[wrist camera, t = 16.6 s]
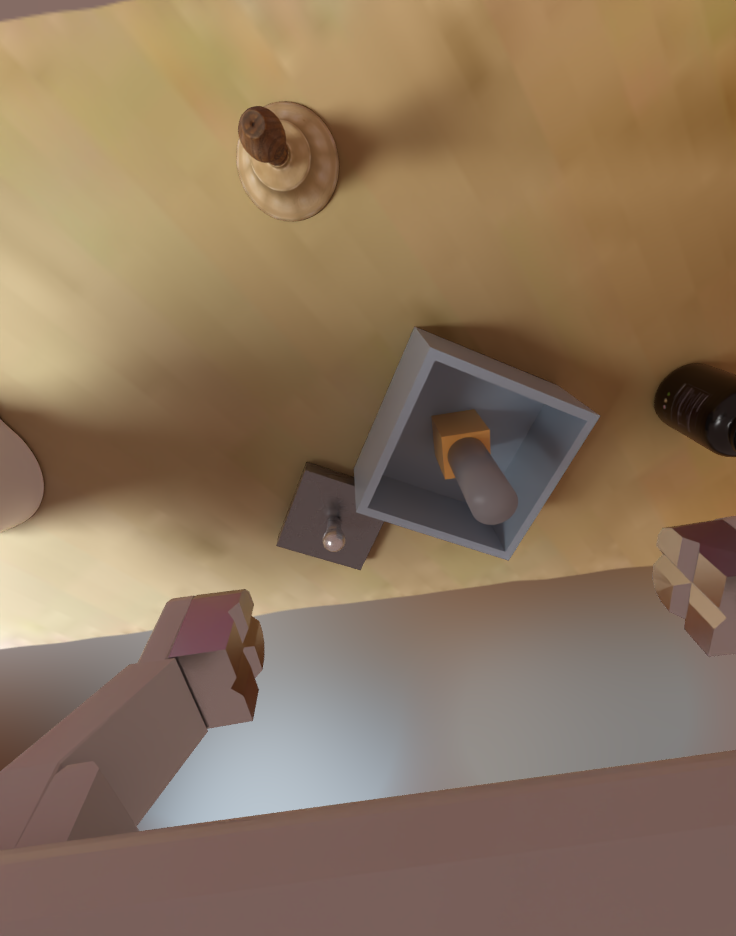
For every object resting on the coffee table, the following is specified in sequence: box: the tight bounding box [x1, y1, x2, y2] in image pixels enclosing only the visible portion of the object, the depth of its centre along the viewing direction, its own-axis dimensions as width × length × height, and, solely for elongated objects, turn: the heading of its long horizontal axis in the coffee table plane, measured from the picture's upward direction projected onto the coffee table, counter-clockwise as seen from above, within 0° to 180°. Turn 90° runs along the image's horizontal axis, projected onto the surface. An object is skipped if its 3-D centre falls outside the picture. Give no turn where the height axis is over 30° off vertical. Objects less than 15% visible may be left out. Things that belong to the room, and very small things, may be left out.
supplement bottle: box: [654, 363, 736, 457], centre depth 45 cm, size 7×7×12 cm
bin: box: [354, 327, 600, 560], centre depth 46 cm, size 16×16×9 cm
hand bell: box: [236, 102, 339, 221], centre depth 32 cm, size 8×8×16 cm
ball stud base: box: [277, 462, 384, 570], centre depth 51 cm, size 10×10×6 cm
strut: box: [431, 409, 518, 525], centre depth 43 cm, size 4×4×15 cm
